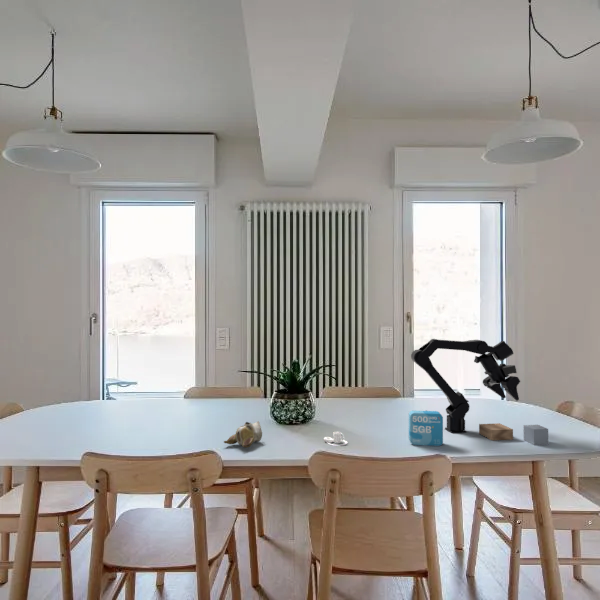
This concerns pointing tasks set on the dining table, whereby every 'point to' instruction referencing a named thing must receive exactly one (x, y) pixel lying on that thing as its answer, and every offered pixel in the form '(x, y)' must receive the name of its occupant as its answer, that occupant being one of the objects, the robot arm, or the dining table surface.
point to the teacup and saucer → (335, 439)
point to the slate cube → (536, 434)
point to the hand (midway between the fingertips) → (511, 399)
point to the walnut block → (496, 431)
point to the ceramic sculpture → (246, 434)
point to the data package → (425, 428)
